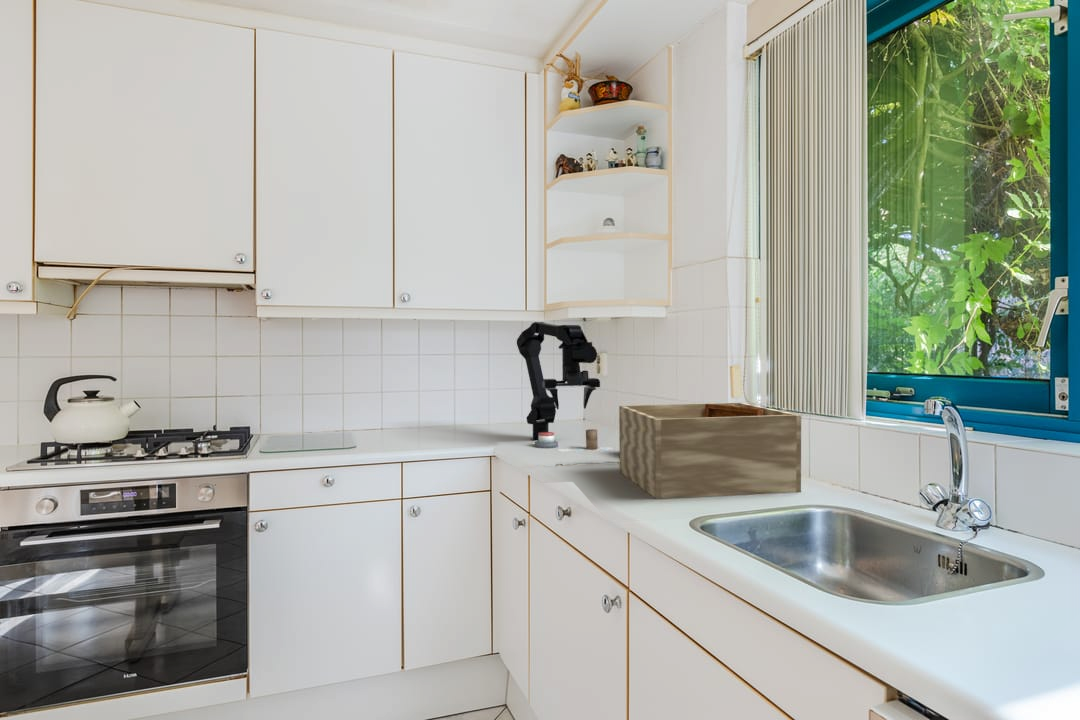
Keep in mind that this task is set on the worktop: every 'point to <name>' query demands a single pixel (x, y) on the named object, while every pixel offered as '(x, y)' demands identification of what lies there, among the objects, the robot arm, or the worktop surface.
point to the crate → (709, 451)
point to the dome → (546, 437)
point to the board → (555, 444)
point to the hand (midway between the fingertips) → (571, 408)
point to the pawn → (591, 439)
